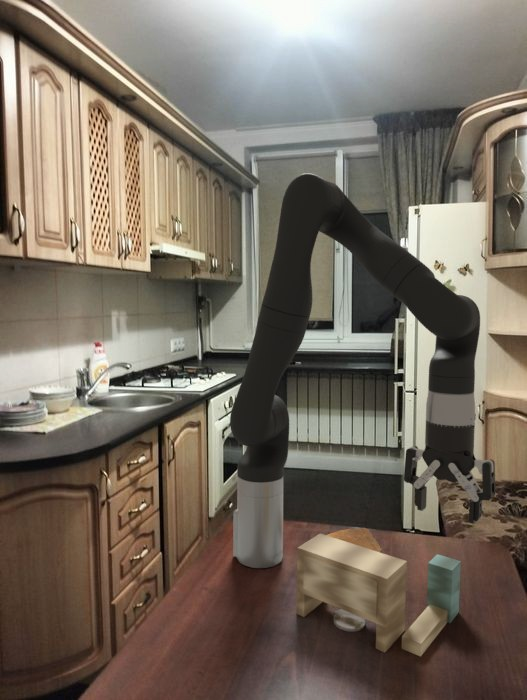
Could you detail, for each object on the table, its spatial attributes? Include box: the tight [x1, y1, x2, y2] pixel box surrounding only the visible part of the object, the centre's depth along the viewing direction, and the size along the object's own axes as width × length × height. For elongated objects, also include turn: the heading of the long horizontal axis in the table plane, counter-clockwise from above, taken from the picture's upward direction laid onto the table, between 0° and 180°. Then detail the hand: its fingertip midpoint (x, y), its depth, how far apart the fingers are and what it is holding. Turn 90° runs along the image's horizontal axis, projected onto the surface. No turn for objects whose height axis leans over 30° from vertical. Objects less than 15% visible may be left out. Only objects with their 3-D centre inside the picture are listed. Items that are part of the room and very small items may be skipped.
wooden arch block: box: [296, 533, 408, 653], centre depth 88 cm, size 16×7×12 cm, turn 52°
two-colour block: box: [401, 553, 462, 657], centre depth 87 cm, size 4×15×9 cm, turn 142°
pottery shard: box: [326, 527, 382, 553], centre depth 117 cm, size 10×9×2 cm
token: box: [333, 608, 366, 633], centre depth 89 cm, size 5×5×1 cm
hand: (446, 515), depth 90 cm, fingers open, 8 cm apart
